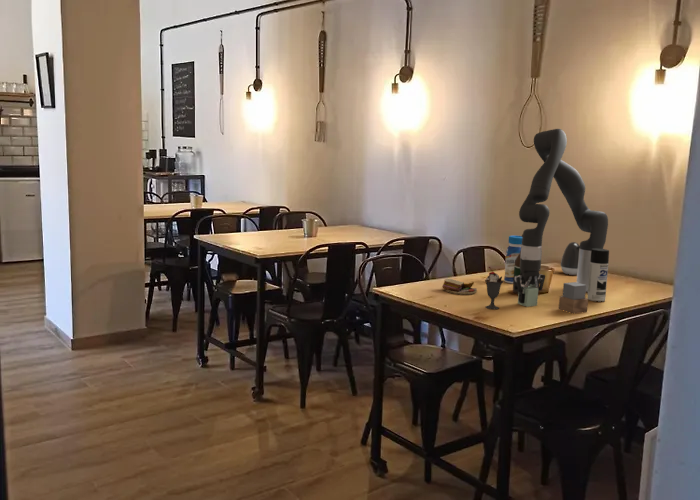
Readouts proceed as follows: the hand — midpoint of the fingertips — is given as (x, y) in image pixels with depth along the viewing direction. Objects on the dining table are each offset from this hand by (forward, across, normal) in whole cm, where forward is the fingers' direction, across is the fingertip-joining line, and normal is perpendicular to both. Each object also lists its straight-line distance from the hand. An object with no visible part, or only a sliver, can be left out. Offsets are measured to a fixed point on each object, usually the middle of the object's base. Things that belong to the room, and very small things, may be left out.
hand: (527, 302), depth 253 cm
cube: (-4, -10, +13) cm, 17 cm away
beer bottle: (+1, -12, -16) cm, 20 cm away
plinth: (+1, -10, +13) cm, 16 cm away
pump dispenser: (+1, -63, -40) cm, 74 cm away
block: (+1, 0, 0) cm, 1 cm away
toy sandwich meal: (+1, +11, -27) cm, 29 cm away
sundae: (+1, +16, -1) cm, 16 cm away
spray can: (+1, -32, +4) cm, 32 cm away
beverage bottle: (+1, -23, -34) cm, 42 cm away
